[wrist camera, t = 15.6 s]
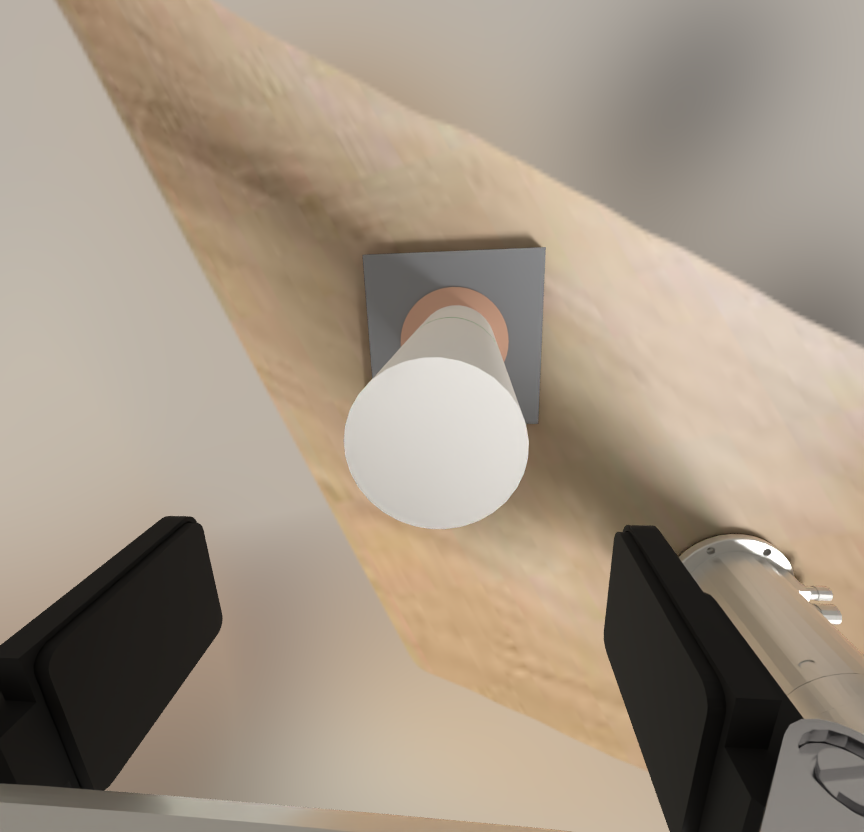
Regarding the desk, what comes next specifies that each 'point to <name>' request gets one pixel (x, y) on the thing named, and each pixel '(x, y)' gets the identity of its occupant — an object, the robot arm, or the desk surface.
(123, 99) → the desk surface
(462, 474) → the cylindrical container
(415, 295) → the board
